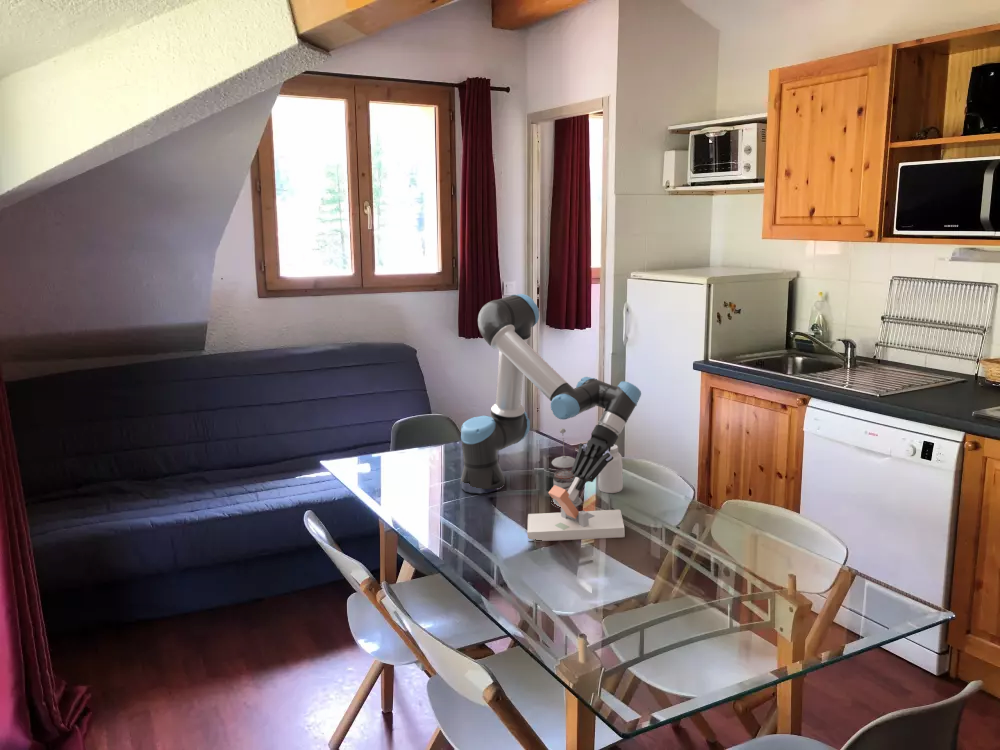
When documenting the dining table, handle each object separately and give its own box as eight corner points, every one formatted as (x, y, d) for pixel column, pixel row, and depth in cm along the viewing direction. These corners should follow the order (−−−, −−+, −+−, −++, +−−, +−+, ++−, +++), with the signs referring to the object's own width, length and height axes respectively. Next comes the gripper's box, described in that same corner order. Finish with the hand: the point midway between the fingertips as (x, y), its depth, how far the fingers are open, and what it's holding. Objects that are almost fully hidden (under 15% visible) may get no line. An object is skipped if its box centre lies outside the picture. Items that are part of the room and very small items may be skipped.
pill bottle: (622, 494, 260) (621, 450, 256) (597, 493, 261) (595, 450, 257) (623, 484, 267) (622, 441, 263) (599, 483, 269) (597, 441, 265)
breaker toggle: (573, 511, 240) (554, 484, 233) (585, 517, 236) (565, 489, 229) (567, 519, 239) (548, 492, 232) (579, 524, 235) (559, 497, 228)
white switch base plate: (528, 541, 233) (526, 519, 231) (528, 523, 245) (527, 502, 243) (624, 537, 232) (623, 515, 230) (620, 518, 243) (619, 497, 241)
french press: (550, 496, 263) (546, 424, 256) (586, 493, 262) (582, 421, 255) (551, 509, 253) (547, 434, 246) (588, 507, 252) (585, 432, 246)
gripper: (630, 440, 236) (591, 510, 231) (599, 431, 246) (561, 497, 242) (616, 428, 232) (577, 499, 227) (585, 419, 242) (547, 486, 237)
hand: (569, 498), depth 234 cm, fingers closed
